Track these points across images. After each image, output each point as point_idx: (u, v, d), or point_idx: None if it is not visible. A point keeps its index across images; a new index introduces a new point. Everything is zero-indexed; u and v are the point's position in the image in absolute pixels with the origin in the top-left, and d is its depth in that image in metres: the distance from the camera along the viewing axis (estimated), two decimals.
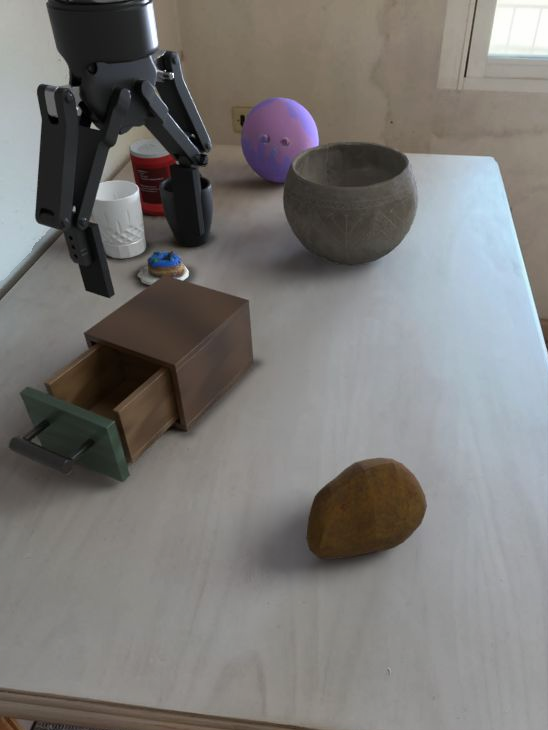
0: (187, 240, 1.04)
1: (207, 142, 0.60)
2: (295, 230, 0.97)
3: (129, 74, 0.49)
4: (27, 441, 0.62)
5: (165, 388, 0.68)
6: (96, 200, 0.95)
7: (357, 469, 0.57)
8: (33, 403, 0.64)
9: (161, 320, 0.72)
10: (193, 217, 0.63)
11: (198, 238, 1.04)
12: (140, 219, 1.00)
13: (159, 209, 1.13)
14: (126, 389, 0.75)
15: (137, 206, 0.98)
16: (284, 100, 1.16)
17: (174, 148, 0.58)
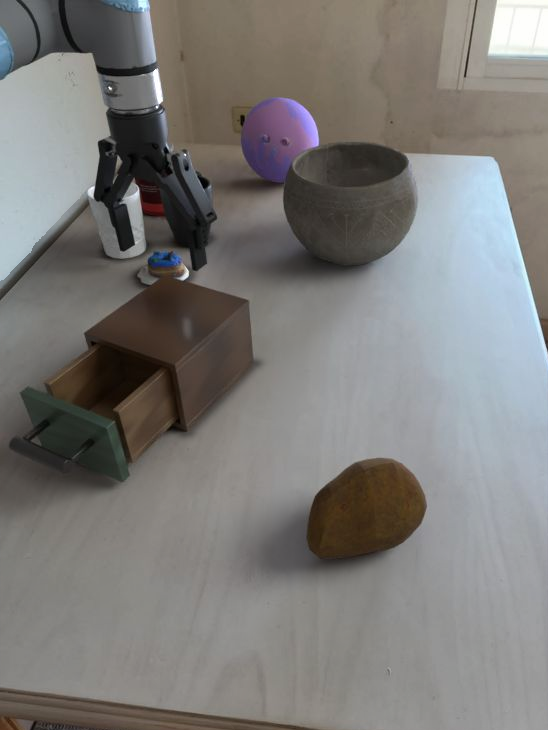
0: (187, 240, 1.04)
1: (202, 220, 0.86)
2: (295, 230, 0.97)
3: (140, 152, 0.84)
4: (27, 441, 0.62)
5: (165, 388, 0.68)
6: None
7: (357, 469, 0.57)
8: (33, 403, 0.64)
9: (161, 320, 0.72)
10: None
11: None
12: (140, 219, 1.00)
13: (159, 209, 1.13)
14: (126, 389, 0.75)
15: (137, 206, 0.98)
16: (284, 100, 1.16)
17: None
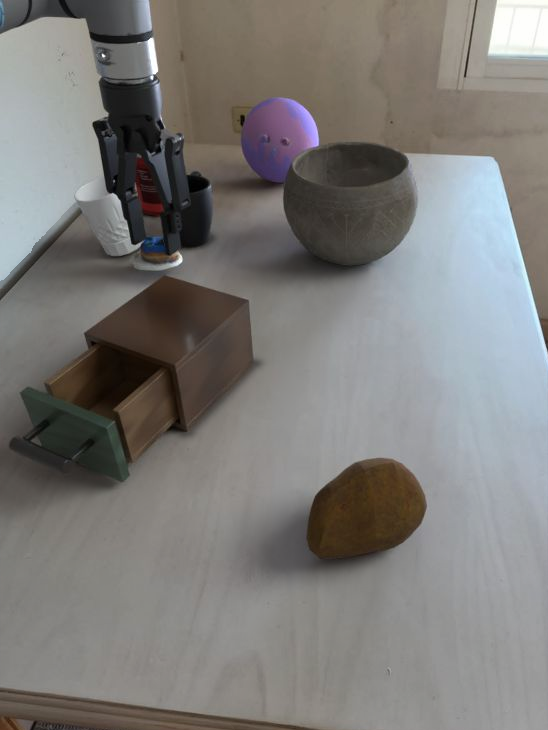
0: (187, 240, 1.04)
1: (177, 205, 0.87)
2: (295, 230, 0.97)
3: (133, 124, 0.82)
4: (27, 441, 0.62)
5: (165, 388, 0.68)
6: (82, 202, 0.95)
7: (357, 469, 0.57)
8: (33, 403, 0.64)
9: (161, 320, 0.72)
10: None
11: (198, 238, 1.04)
12: None
13: (159, 209, 1.13)
14: (126, 389, 0.75)
15: None
16: (284, 100, 1.16)
17: None
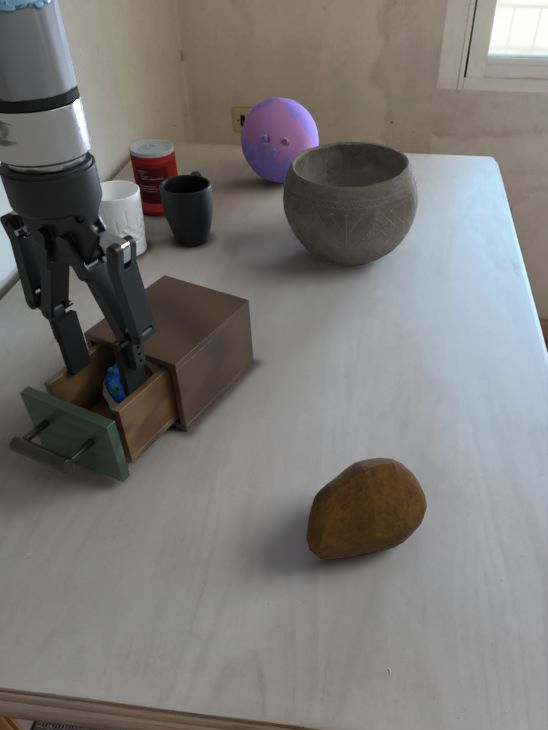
0: (187, 240, 1.04)
1: (135, 337, 0.58)
2: (295, 230, 0.97)
3: (58, 225, 0.54)
4: (27, 441, 0.62)
5: (165, 388, 0.68)
6: None
7: (357, 469, 0.57)
8: (33, 403, 0.64)
9: (161, 320, 0.72)
10: None
11: (198, 238, 1.04)
12: (139, 220, 1.00)
13: (159, 209, 1.13)
14: None
15: (136, 207, 0.98)
16: (284, 100, 1.16)
17: None
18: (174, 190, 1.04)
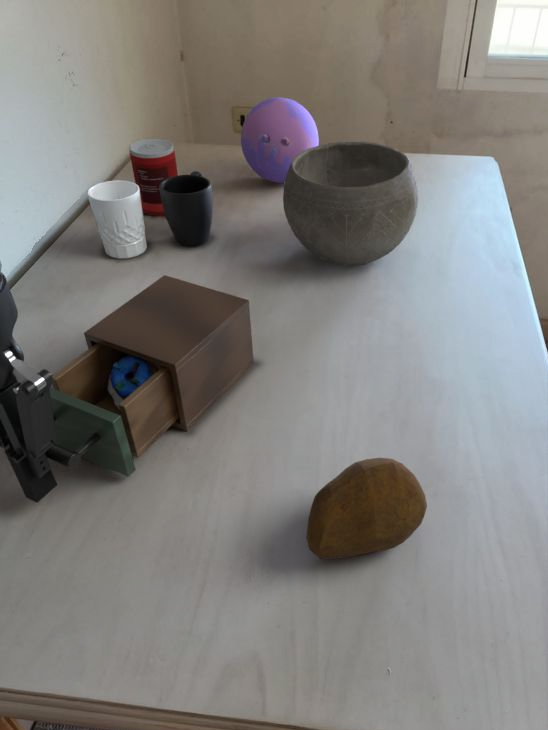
0: (187, 240, 1.04)
1: (32, 452, 0.56)
2: (295, 230, 0.97)
3: None
4: None
5: (170, 383, 0.68)
6: (94, 199, 0.95)
7: (357, 469, 0.57)
8: None
9: (161, 320, 0.72)
10: None
11: (198, 238, 1.04)
12: (139, 220, 1.00)
13: (159, 209, 1.13)
14: None
15: (136, 207, 0.98)
16: (284, 100, 1.16)
17: None
18: (174, 190, 1.04)
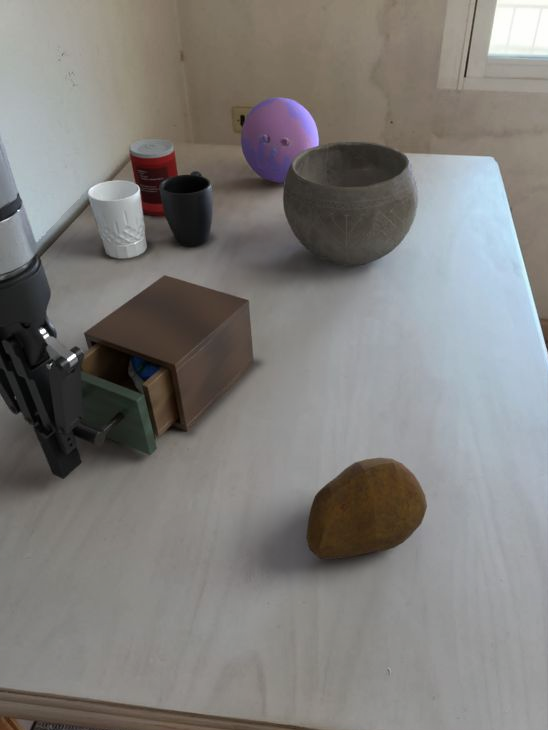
0: (187, 240, 1.04)
1: (61, 428, 0.58)
2: (295, 230, 0.97)
3: (5, 327, 0.52)
4: None
5: None
6: (94, 199, 0.95)
7: (357, 469, 0.57)
8: None
9: (161, 320, 0.72)
10: None
11: (198, 238, 1.04)
12: (139, 221, 1.00)
13: (159, 209, 1.13)
14: None
15: (136, 207, 0.98)
16: (284, 100, 1.16)
17: None
18: (174, 190, 1.04)
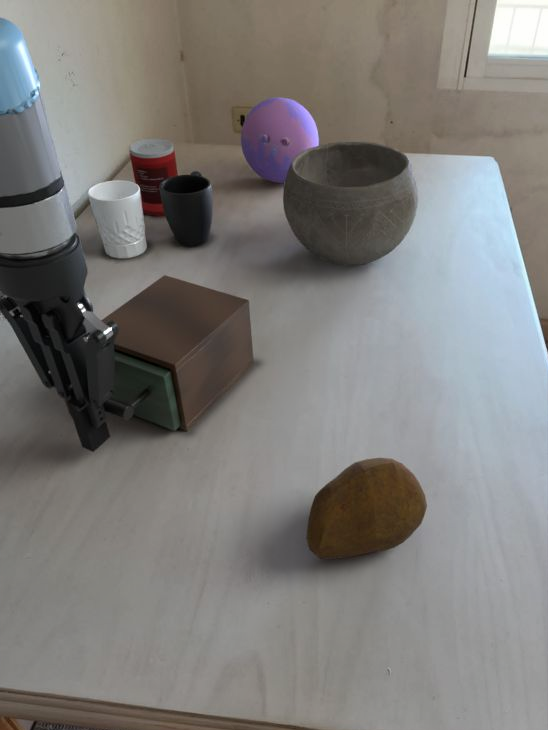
0: (187, 240, 1.04)
1: (94, 400, 0.61)
2: (295, 230, 0.97)
3: (44, 302, 0.55)
4: None
5: None
6: (94, 199, 0.95)
7: (357, 469, 0.57)
8: None
9: (161, 320, 0.72)
10: None
11: (198, 238, 1.04)
12: (139, 220, 1.00)
13: (159, 209, 1.13)
14: None
15: (136, 207, 0.98)
16: (284, 100, 1.16)
17: None
18: (174, 190, 1.04)
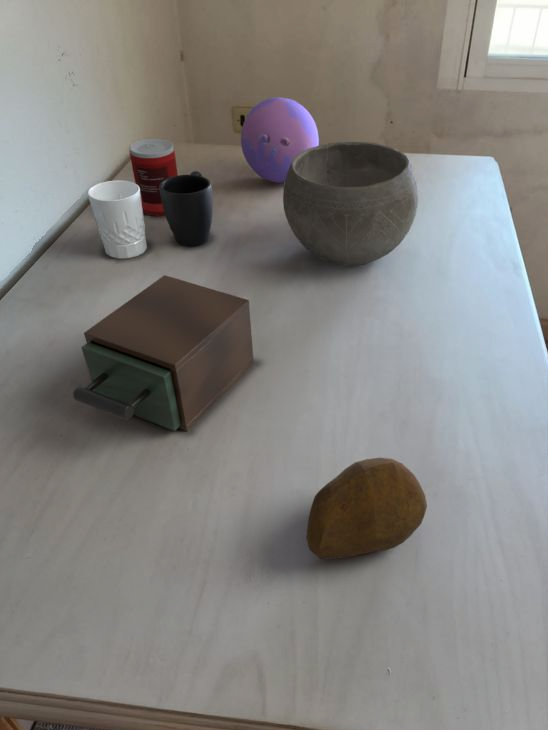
0: (187, 240, 1.04)
1: None
2: (295, 230, 0.97)
3: None
4: (90, 390, 0.67)
5: None
6: (94, 199, 0.95)
7: (357, 469, 0.57)
8: (93, 357, 0.69)
9: (161, 320, 0.72)
10: None
11: (198, 238, 1.04)
12: (139, 221, 1.00)
13: (159, 209, 1.13)
14: None
15: (136, 207, 0.98)
16: (284, 100, 1.16)
17: None
18: (174, 190, 1.04)
